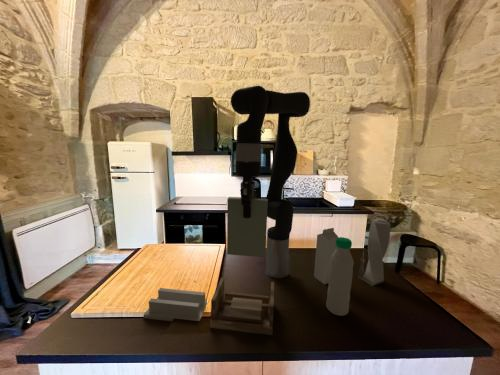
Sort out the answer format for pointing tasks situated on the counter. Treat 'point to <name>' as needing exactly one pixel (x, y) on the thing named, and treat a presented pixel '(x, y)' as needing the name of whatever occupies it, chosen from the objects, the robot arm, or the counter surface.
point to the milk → (324, 254)
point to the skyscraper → (375, 251)
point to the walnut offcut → (236, 319)
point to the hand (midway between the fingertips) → (247, 216)
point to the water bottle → (340, 278)
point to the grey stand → (176, 305)
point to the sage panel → (247, 228)
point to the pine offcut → (246, 308)
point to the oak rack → (217, 322)
